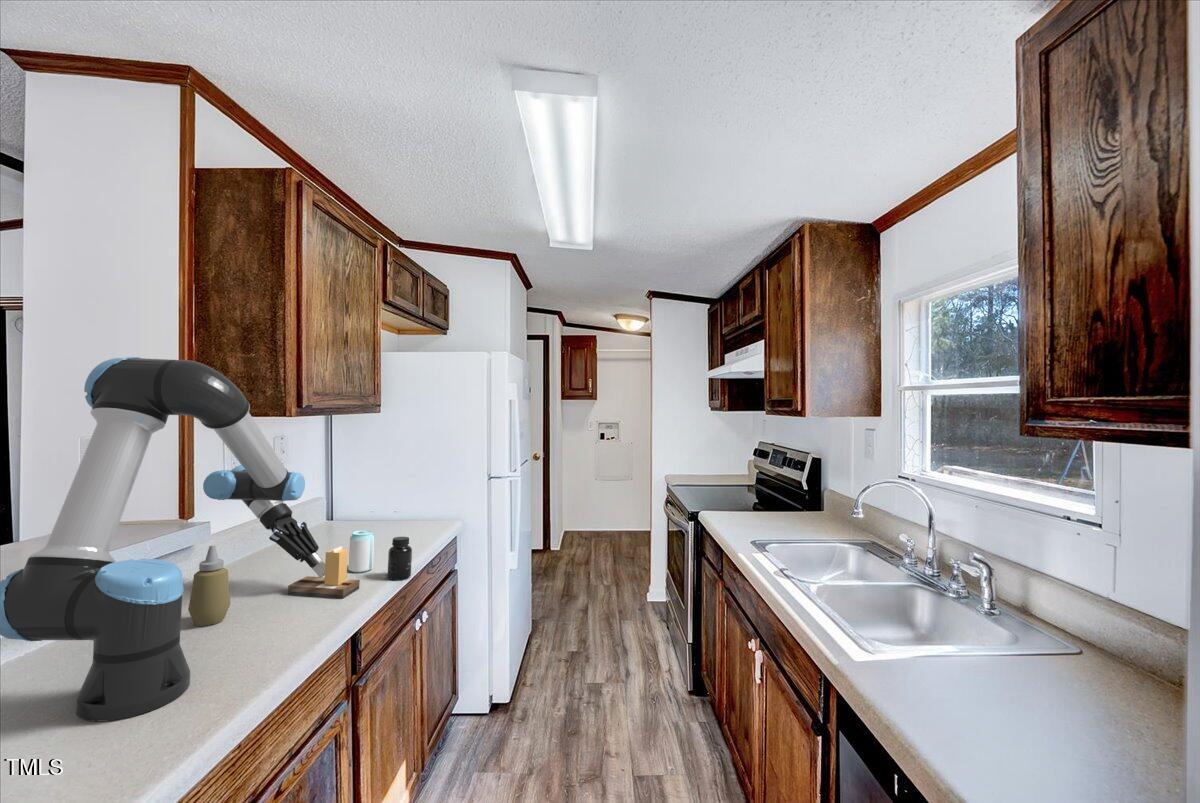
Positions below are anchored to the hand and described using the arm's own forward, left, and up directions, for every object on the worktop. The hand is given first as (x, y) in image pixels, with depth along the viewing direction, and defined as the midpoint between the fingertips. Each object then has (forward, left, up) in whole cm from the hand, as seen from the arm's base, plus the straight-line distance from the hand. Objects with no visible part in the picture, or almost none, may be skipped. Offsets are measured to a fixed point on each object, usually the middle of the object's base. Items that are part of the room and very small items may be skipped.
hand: (324, 573), depth 146 cm
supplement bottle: (+21, +1, -5) cm, 22 cm away
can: (+13, +14, -5) cm, 20 cm away
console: (0, 0, -5) cm, 5 cm away
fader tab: (+2, -2, -4) cm, 5 cm away
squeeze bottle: (-26, -8, -5) cm, 28 cm away
